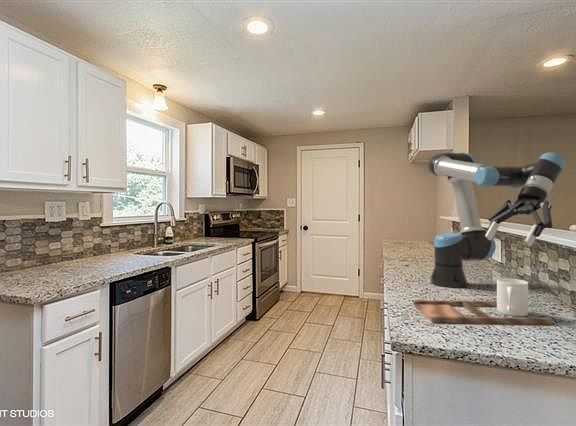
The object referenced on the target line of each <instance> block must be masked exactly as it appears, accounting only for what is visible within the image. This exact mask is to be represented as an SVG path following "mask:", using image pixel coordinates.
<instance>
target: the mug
mask: <svg viewBox="0 0 576 426" xmlns="http://www.w3.org/2000/svg"><path fill="white" fill-rule="evenodd" d="M496 301H497V306H496V309H497V311H498V312H499V313H500V314H502V315H506V316H510V317H526V316H528V314H529V282H528V281H526V280H524V279H523V280H522V279H516V278H497V279H496Z"/></svg>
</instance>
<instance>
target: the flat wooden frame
mask: <svg viewBox="0 0 576 426" xmlns="http://www.w3.org/2000/svg"><path fill="white" fill-rule="evenodd" d="M412 301H413V302H412V303H413V304H412V305H413V306H414V307H415V308H417V310H418V311H420V312H421V314H423V316H425V317H426V318H427V320H429V321H430V322H431V324H432V323H433V324H438V323H439V324H440V323H441V324H486V325H487V324H494V325H498V324H500V325H501V324H502V325H552V324H553V319H552V318H551V317H525V316H523V317H517V316H510V317H509V316H506V317H505V316H490V315H489V314H487V313H485V312H484V311H482V310H480V309H478V308H477V307H497V300H438V299H437V300H431V299H430V300H428V299H425V300H424V299H423V300H422V299H420V300H419V299H415V300H412ZM454 307H463V308H465V309H466V310H467V311H468V312H471V313H472V314H474V315H475V316H466V315H464V314H463V313H461V312H460V311H458V310H457V309H456V308H454Z"/></svg>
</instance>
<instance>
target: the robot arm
mask: <svg viewBox="0 0 576 426" xmlns="http://www.w3.org/2000/svg"><path fill="white" fill-rule="evenodd" d="M428 160H429V161H428V164H427V169H428V170H429V171H428V172H430V173H431V174H432V175H434V176H439V177H446V178H447V182H448V183H449V184H451V185H452V190H453V194H454V199H455V205H456V210H457V215H458V219H459V226H460V231H459V232H451V233H450V232H446V233H441V234H438V235H436V236H435V238H434V244H433V246H434V267H433V269H432V273H431V276H430V283H431V284H432V285H435V286H438V287H445V288H465V287H467V286H468V279H467V277H466V274H465V271H464V269H463V268H464V267H463V262H465V261H479V262H480V261H486V260H490V258H492V257H493V255H494V254H495V252H496V249H497V248H496V247H497V246H496V241H495V238H494V236H495V234H496V233H497V230H498V229H499V228H500V224H501V223H503V222H505V221H506V220H509V219H510V218H512V217H513V216H518V215H530V214H531V216H532V217H533V219H534V221H535V223H536V224H533V225H532V227H531V228H530V231H529V232H528V235H527V236H526V238H525V239H524V242H525V243H526V244H527V246H529V247H532V246H533V244H534V242H535V241H536V239H537V238H539V237H540V236H541V234H542V232H543V231H544V230H545V229H547V228H548V229H552V228H553V227H554V226H553V222H552V221H553V220H552V213H551V210H552V204H551V202H550V201H549V200H546V199H547V197H548V195H549V194H550V192H551V190H552V189H553V186H554V185H555V183H556V181H557V180H558V178H559V176H560V174H561V173H562V171H563V169H564V166H565V164H566V158H565V157H564V156H562V155H561V154H559V153H558V152H557V153H556V152H545V153H543V154H542V155H541V156H540V157H539V158H538V160H537V161H535V162H533V163H530V164H527V165H522V166H496V165H494V166H493V165H489V164H488V165H487V164H483V163H478V160H477V159H476V157H475V156H474V155H473V154H471V153H469V152H468V153H466V152H439V153H436V154H435V155H433V156H431V157H430V159H428ZM473 183H475V184H476V185H477V186H481V187H487V188H489V187H508V188H509V189H510V188H511V189H514V188H515V189H516V188H521V190H520V191H519V193H518V195H517V199H516V200H515V201H511V200H510V199H507V200H506V201H505V203H504V204H503V205H502V206H500V207H499V208H498V209H496V210H495V212H493V213H492V214H491V215H490V216H488V217H487V220H488V221H489V222H490V224H489V226H488V228H487V229H485V228H483V227H482V223H481V219H480V213H479V208H478V204H477V200H476V195H475V190H474V185H473ZM541 208H542V216H543V221H544V222H543V221H542V218H541V217H540V216H539V213H538V210H539V209H541Z"/></svg>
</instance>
